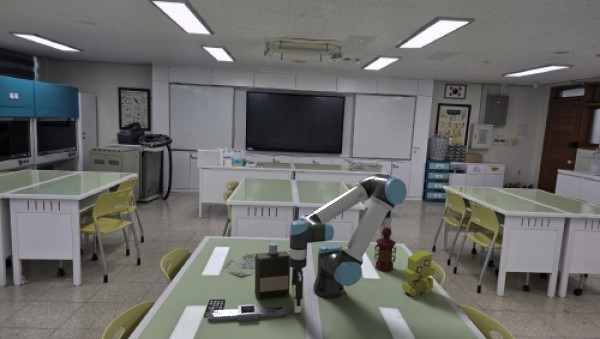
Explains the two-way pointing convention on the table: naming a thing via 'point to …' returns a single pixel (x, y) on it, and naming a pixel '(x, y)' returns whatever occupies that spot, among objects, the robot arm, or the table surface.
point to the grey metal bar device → (246, 313)
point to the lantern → (385, 251)
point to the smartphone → (214, 306)
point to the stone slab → (250, 262)
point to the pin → (294, 300)
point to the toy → (419, 273)
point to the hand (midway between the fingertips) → (296, 307)
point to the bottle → (272, 273)
